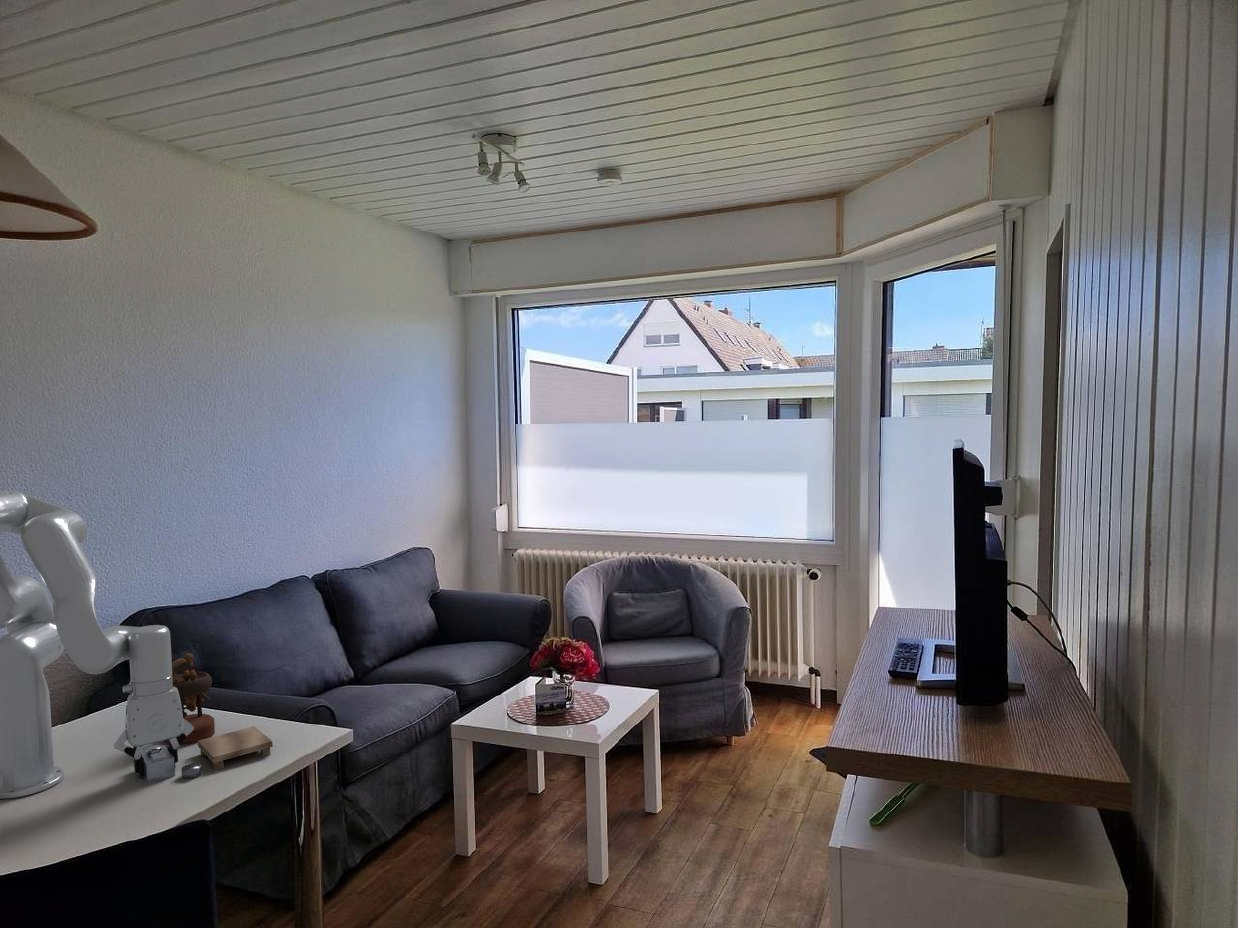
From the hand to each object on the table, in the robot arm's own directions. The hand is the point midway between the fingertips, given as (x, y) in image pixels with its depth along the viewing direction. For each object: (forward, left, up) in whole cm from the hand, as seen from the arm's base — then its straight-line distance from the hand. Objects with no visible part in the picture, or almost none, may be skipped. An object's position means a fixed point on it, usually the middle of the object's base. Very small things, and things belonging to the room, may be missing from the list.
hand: (156, 769), depth 169 cm
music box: (+11, +17, -1) cm, 20 cm away
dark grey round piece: (+5, -7, -1) cm, 9 cm away
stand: (+15, -2, 0) cm, 15 cm away
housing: (0, 0, -1) cm, 1 cm away
